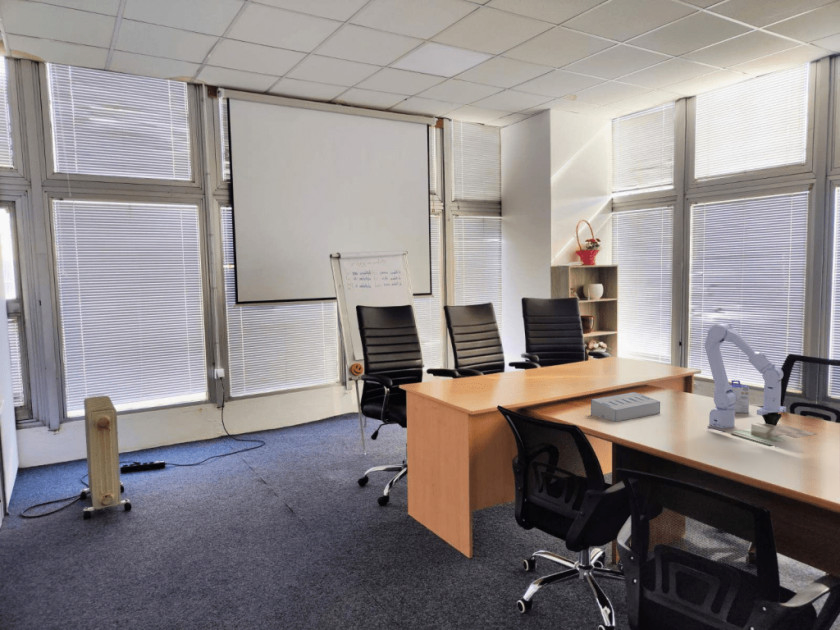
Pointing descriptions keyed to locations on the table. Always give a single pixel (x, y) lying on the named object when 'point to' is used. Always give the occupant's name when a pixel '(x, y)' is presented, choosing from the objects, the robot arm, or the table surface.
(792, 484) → the table surface
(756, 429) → the birch block
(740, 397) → the ink cartridge box
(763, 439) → the trap board
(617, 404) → the warehouse
